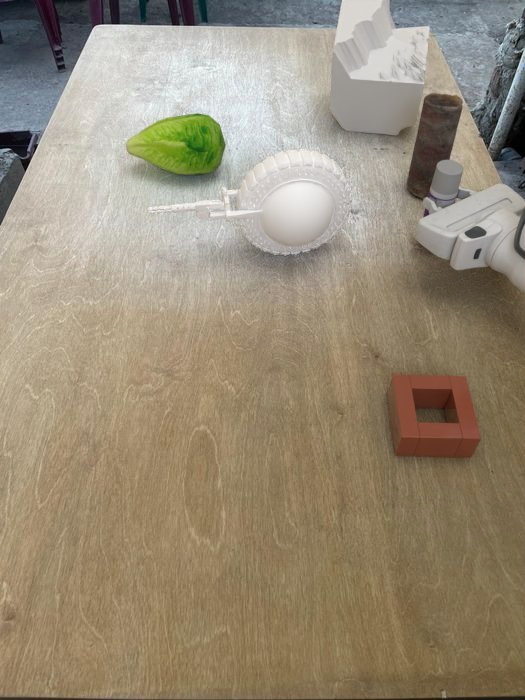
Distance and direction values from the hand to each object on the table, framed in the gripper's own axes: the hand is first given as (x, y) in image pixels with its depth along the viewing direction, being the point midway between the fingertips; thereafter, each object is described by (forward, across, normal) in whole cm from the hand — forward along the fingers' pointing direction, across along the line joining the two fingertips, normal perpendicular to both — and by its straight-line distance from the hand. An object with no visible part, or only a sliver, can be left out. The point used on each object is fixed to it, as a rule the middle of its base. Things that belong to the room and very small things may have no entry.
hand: (438, 194), depth 109 cm
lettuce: (+46, +28, +11) cm, 55 cm away
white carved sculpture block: (+38, -19, +12) cm, 44 cm away
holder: (-30, +28, +11) cm, 43 cm away
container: (-1, 0, +9) cm, 9 cm away
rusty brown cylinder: (+13, -12, +12) cm, 21 cm away
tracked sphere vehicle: (+15, +29, +11) cm, 35 cm away
